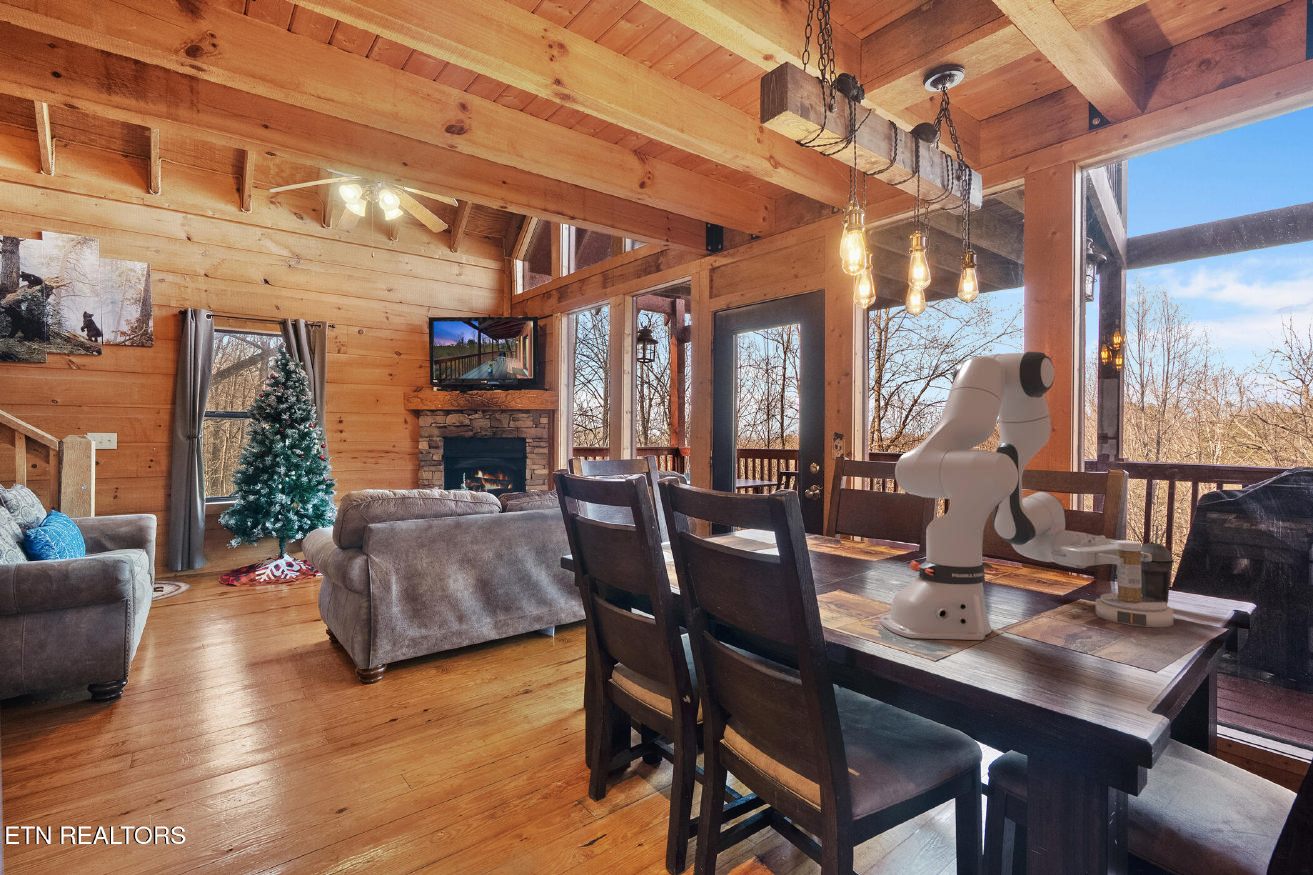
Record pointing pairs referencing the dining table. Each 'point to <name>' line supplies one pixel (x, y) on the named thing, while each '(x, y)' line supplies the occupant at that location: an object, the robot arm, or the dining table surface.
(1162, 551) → the beverage cup
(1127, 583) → the sprinkles bottle
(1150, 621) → the scale base
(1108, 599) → the scale pan
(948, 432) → the robot arm
